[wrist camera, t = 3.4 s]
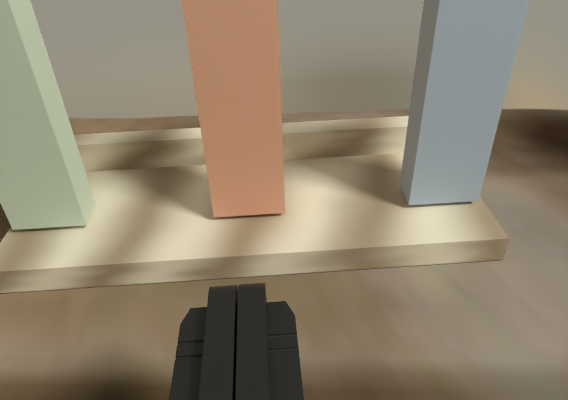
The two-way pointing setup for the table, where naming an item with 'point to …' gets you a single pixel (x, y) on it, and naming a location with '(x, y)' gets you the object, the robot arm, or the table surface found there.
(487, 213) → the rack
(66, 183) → the pale green block
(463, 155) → the light blue tall bar
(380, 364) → the table surface
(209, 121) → the orange rectangular block
